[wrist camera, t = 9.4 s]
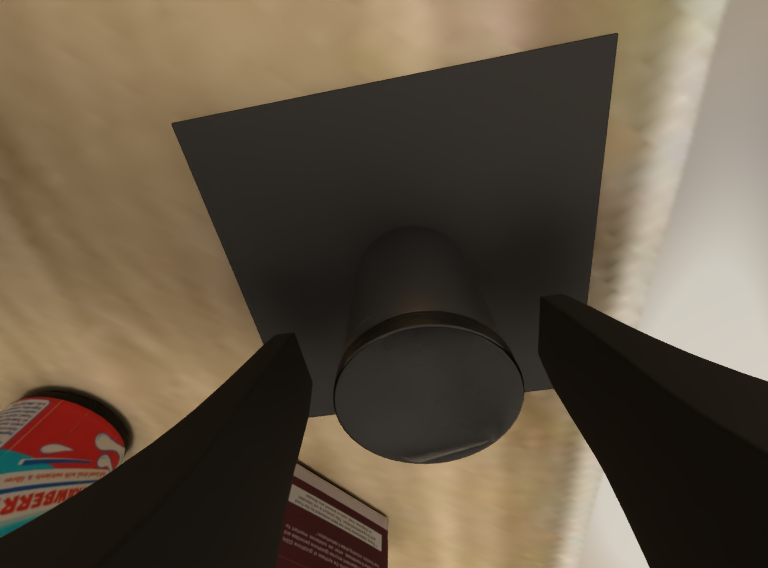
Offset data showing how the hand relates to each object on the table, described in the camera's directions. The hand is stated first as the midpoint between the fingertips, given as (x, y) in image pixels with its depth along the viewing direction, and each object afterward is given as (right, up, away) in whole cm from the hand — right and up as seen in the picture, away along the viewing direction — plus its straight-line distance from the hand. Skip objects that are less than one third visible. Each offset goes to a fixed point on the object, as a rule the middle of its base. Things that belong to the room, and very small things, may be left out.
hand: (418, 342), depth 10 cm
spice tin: (0, +2, +4) cm, 4 cm away
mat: (0, +2, +4) cm, 5 cm away
